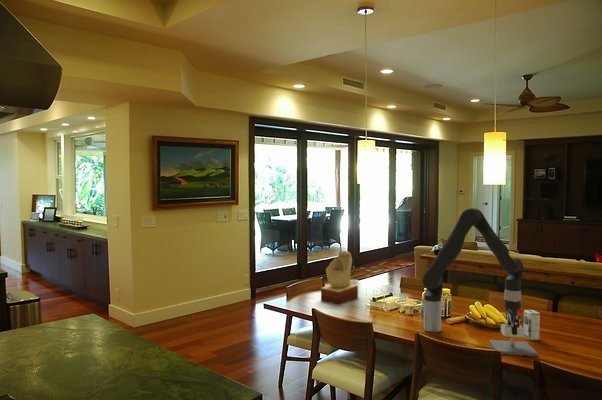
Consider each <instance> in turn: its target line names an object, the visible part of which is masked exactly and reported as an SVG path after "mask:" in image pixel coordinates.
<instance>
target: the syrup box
mask: <svg viewBox="0 0 602 400" xmlns="http://www.w3.org/2000/svg"><path fill="white" fill-rule="evenodd" d="M540 318H541V313H540V312H538V311H536V310H533V309H524V310H523V328H524V337H523V338H525V339H527V340H529V341H536V340H537V341H538V340H539V341H540V325H541V324H540V322H541V319H540Z"/></svg>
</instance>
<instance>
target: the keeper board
mask: <svg viewBox="0 0 602 400" xmlns="http://www.w3.org/2000/svg"><path fill="white" fill-rule="evenodd" d="M488 344H489V345H490V346H491V348H492V349H493V350H494V349H495V350H498V351H501V352H502V354H501V355H504V354H508V356H523V355H527V356H526V357H528V356H529V357H538V352H537V351H536V350H535V349H534V348H533V347H532V346H531V345H530V344H529V343H528V341H516V340H515V337H513V336H509V340H495V339H489V340H488ZM495 350H494V351H495Z"/></svg>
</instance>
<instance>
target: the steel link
mask: <svg viewBox="0 0 602 400" xmlns="http://www.w3.org/2000/svg"><path fill="white" fill-rule="evenodd" d="M500 332H501V334H502V335H503V336H504V337H510V336H513V337H517V338H518V337H519V338H525V337H524V326H522V325H521V324H519V327H517V335H513V334H512V325H508V323H507V324H506V323H505V324H504V323H503V324H502V323H500Z"/></svg>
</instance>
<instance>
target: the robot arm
mask: <svg viewBox="0 0 602 400" xmlns="http://www.w3.org/2000/svg"><path fill="white" fill-rule="evenodd" d="M473 227H474V228H475V229H476V230H477V231H478V232H479V233H480V234H481V236H482V237H483V240H484V241H485V243H486V244H485V245H486V246H487V247H488V249H489V250H490V252H492V254H493V255H494V256H495V257H496V259H497V261H498V263H499V265H500V267H501V268H502V270H503V271H504V272H505V273H507V274H508V275H507V276H506V278H505V280H504V294H503V295H504V296H503V299H504V300H503V302H504V304H503V305H504V306H503V307H504V308H505V320H506V322H507V324H508V325H512V334H513V335H517V327H519V325H520V320H521V319H520V318H521V316H520V315H519V313H518V310H520V311H521V309H522V291H521V289H522V288H521V283H522V282H521V281H522V278H523V272H524V263H523V261H522V260H521V259H519V258H517V257H513V258H512V257H511V255H510V249H509V248H508V247H507V246H506V244H505V243H504V241H503V240H501V238H500V237H499V236H498V234H497V233H496V232H495V231H494V229H493V227H492V226H491V225H490V224H489V223H488V220H487V218H486V217H485V215H484V214H483V211H482V210H480V209H478V208H473V207H469V208H464V210H463V211H462V212H461V214H460V215H459V217H458V220H457V222H456V224H455V226H454V228H453V229H452V231H451V232H450V234H449V236H448V237H447V239H446V240H445V242H444V243H443V244H442V247H441V249H440V250H439V251H438V254H437V255H436V258H435V259H434V261H433V263H432V264H431V266H430V267H429V268H428V270H426V272H425V273H424V274H423V277H422V278H421V279H422V285H423V287H425V288H426V289H425V291H424V296H423V330H424V331H425V332H429V333H440V332H441V331H442V295H443V290H444V289H443V286H444V285H443V284H444V279H443V275H444V273H445V271H446V270H447V269H448V268H449V267H451V265H452V264H453V263H454V261H455V260H456V259H457V257H458V256H459V255H460V253H461V251H462V249H463V247H464V243H465V239H466V236H467V234H468V233H469V231H470V230H471V228H473Z"/></svg>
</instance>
